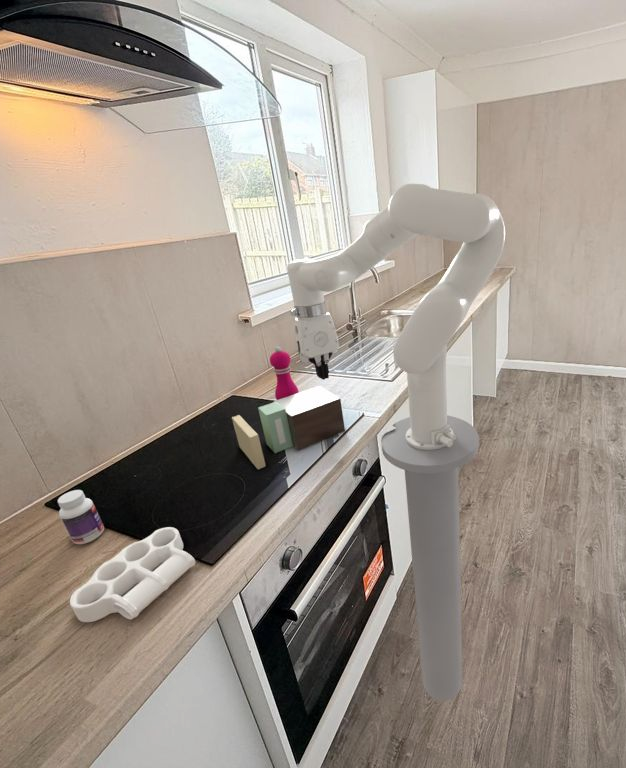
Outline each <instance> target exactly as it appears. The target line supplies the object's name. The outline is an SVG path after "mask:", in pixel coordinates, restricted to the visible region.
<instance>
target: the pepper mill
mask: <svg viewBox="0 0 626 768" xmlns="http://www.w3.org/2000/svg"><path fill="white" fill-rule="evenodd" d="M291 360H292V359H291V356H290V354H289V353H288V352H287V351H285V350H282V347H280V346H276V347H275V348H274V352H272V354H271V355H270V356H269V364H270V366H271V367H273V368H272V369H273V373H274V374H275V376H276V387H275V390H274V397H275V399H276V400H279V399H282V398H285V397H288V396H291V395H294V394H297V393H300V390H299V388H298V387H297V385H296V383H295V382H294V380H293V379H292V375H291V370H292V368H291V365H290V363H291Z"/></svg>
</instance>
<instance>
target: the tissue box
mask: <svg viewBox="0 0 626 768" xmlns="http://www.w3.org/2000/svg"><path fill="white" fill-rule="evenodd" d="M257 410H258V414H259V418H260V422H261V427H262V431H263V435H264V439H265V443H266V445H267V446H268V448H269V449H270V450H271V451H272V452H273V453H274V454H277V453H279V452H282V451H284V450H287V449H289V448H292V447H294V446H293V443H292V438H291V433H290V429H289V424H288V419H287V414H286V409H285V408H284V407H283V406H281V405H280V404H279V403H278V402H273V401H272V402H271V403H268V404H264V405H262V406H259V407H257Z"/></svg>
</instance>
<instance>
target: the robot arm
mask: <svg viewBox="0 0 626 768" xmlns="http://www.w3.org/2000/svg"><path fill="white" fill-rule="evenodd" d="M362 229H363V230H362V233H361V234H360V235H359V237H358V238H357V239H356V240H355V241H354V242H352V243H351V244H350V245H348V246H347V247H345V248H344V249H343V250H342V251H340V252H338V253H336V254H333V255H330V256H327V257H324V258H321V259H317V260H316V259H313V258H302V259H295V260H291V261H290V262H288V263H287V266H286V270H287V271H286V272H287V275H288V280H289V286H290V290H291V294H292V300H293V305H294V306H293V309H292V310H290V312H289V313H290V315H291V317H293V316H295V318H294V336H295V343H296V349H297V353H298V355H299V362H302V363H312V365H314V369H315V373H316V377H318V378H319V379H321V380H323V381H324V380H326V379H329V377H330V375H329V374H330V370H329V369H330V368H329V363H330V359H331V358H332V356H333V355H335V354H337V353H338V352H339V348H340V343H339V337H338V333H337V330H336V329H337V328H336V326H335V323H334V320H333V317H332V315H331V313H330V312H328V311H327V307H326V302H325V295H324V293H330V292H334V291H336V290H338V289H341V288H342V287H345V286H347V285H349V284H351V283H353V282H354V281H356V280H357V279H358V278H360V277H361V276H362V275H365V274H366V273H367V272H368V271H370V270H371V269H372V268H373V267H375V266H376V265H378V264H379V263H380V262H382V261H383V260H385V259H387V258H388V257H390V255H392V254H393V253H394V252H396V251H397V250H398V249H400V248H401V247H403V246H404V245H405V244H407V243H408V242H410V241H412V240H413V239H414V238H415V237H417V236H419V235H420V236H424V237H430V238H434V239H441V240H446V241H451V242H456V243H462V244H461V247H460V248H459V250H458V251H457V253H456V255H455V256H454V258H453V259H452V261H451V263H450V265H449V267H447V270H446V271H445V272H444V274H443V276H442V277H441V279H440V280H439V281H438V282H437V284H436V285H435V286H434V287H433V288H431V289H430V290H429V291H428V292H427V293H426V294H425V295H423V297H422V298H421V300H420V301H419V302H418V304H417V306H416V307H415V309H414V310H413V312H412V314H411V315H410V317H409V318H408V320H407V322H406V324H405V325H404V327H403V329H402V330H401V332H400V333H399V335H398V337H397V338H396V340H395V342H394V344H393V349H392V355H393V360H394V362H395V364H396V365H397V367H398V368H399V369H400V370H401V371H403V372H405V373H406V381H407V395H408V409H409V410H408V411H409V417H410V425H411V428H409V429H408V430H407V432H406V435H405V437H406V441H407V443H408V444H409V445H410V446H412V447H414V448H417V449H421V450H436V449H440V448H443V447H445V446H447V447H451V446H452V445H453V441H454V440H455V439H456V436H455V435H454V433H453V431H452V429H451V428H450V425H448V424H447V415H448V409H447V408H448V407H447V406H448V404H447V403H448V401H447V351H448V350H447V348H448V344H449V342H450V341H451V340H452V338H453V337H454V335H455V333H456V332H457V331H458V329H459V328H460V327H461V325H462V323H463V321H464V320H465V318H466V316H467V315H468V312H469V310H470V308H471V306H472V305H473V302H474V301H475V299H476V298H477V297H478V295H479V293H480V292H481V291H482V290H483V288H484V286H485V284H486V283H487V281H488V280H489V279H490V277H491V275H492V273H493V272H494V270H495V269H496V267H497V265H498V263H499V262H500V259H501V256H502V254H503V251H504V246H505V242H506V240H505V239H506V227H505V222H504V218H503V216H502V213H501V211H500V209H499V207H498V205H497V204H496V202H494V200H493V199H492V198H491V197H489V196H488V195H486V194H484V193H478V192H477V193H476V192H474V193H468V192H461V191H455V190H454V191H453V190H446V189H439V188H434V187H431V186H429V185H427V184H424V183H406V184H404V185H401V186H400V187H399V188H397V189H396V190H395V191H394V192H393V194H392V195H391V198H390V199H389V202H388V204H387V205H386V206H384V208H382V209H381V210H380V211H379V212H378V213H376V214H375V215H374V216H372V217H371V218H370V219H368V220H367V221H366V222H365V223H364V225H363V228H362Z"/></svg>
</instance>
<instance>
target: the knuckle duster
mask: <svg viewBox="0 0 626 768" xmlns="http://www.w3.org/2000/svg"><path fill="white" fill-rule="evenodd" d="M183 549H184V542H183V540H182V537H181V534H180V532H179V530H178V529H177V528H175V527H173V526H167V527H166V526H165V527H161V528H158V529H156V530H154V531H153V532H152V533H151V534H150V535H148V536H147V537H145V538H143V539H142V540H139V541H135V542H132V543H131V544H129V545H127V546H126V547H124V548H122V549H121V550H120V551H119V553H118V554H116V555H115V556H114V557H113V558H111V559H109V560H107V561H104V562H103V563H102V564H100V566H99V567H97V569H96V570H94V572H93V574H92V576H91V577H90V578H89V580H88V581H86V582H85V584H83V585H82V586H80V587H78V588H77V589H75V590H74V591H73V592H72V595H71V596H70V599H69V605H70V608H71V609H72V611H73V613H74V614H75V616H76V618H77V619H78V620H79V622H81V623H93V622H96V621H99V620H102V619H104V618H105V617H107V616H109V615H110V614H115V613H119V615H121V616H122V617H124V618H126V619H127V620H130V621H131V620H133V619H135V618H137V617H138V616H139V615H140V613H141V612H143V611H144V610H145V609H146V607H148V606H149V605H150V604H151V603H152V602H154V600H156V599H157V598H158V597H159V596H160V595H161V594H163V593H164V592H165V591H167V590H168V589H170V588H169V587H171V586H172V584H174V583H175V582H176V581H177V580H178V579H179V578H180V577H181V576H183V575H184V574H185V573H186V572H187V571H188V570H190V568H193V566H195V565H196V563H197V562H196V559H195V558H194V557H193V555H191V554H190V553H188V552H187V551H185V550H183Z"/></svg>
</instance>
